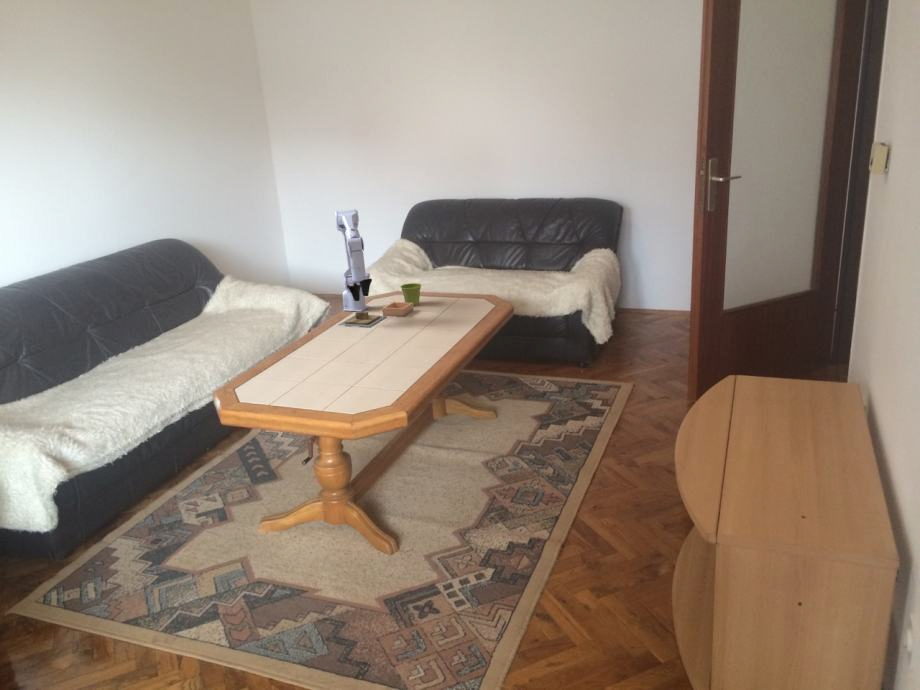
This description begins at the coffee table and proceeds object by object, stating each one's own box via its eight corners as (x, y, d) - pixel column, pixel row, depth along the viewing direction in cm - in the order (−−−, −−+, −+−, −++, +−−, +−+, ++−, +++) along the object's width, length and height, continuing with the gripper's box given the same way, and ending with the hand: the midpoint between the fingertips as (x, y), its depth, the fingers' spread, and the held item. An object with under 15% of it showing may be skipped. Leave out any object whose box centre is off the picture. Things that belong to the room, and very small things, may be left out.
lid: (344, 323, 315) (343, 315, 314) (357, 316, 325) (356, 308, 324) (367, 325, 311) (366, 316, 310) (380, 317, 321) (379, 309, 320)
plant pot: (427, 302, 340) (425, 284, 337) (415, 308, 333) (413, 289, 330) (410, 300, 345) (408, 282, 342) (398, 306, 337) (396, 287, 335)
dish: (383, 315, 324) (382, 308, 323) (393, 309, 333) (392, 301, 332) (403, 317, 320) (403, 309, 319) (413, 310, 329) (413, 302, 328)
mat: (338, 325, 315) (338, 324, 314) (356, 315, 328) (356, 314, 327) (369, 327, 309) (369, 326, 309) (386, 317, 322) (386, 316, 322)
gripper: (357, 271, 304) (361, 303, 308) (374, 263, 316) (378, 294, 321) (342, 270, 306) (346, 302, 311) (360, 262, 319) (363, 293, 323)
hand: (361, 298), depth 316 cm, fingers open, 7 cm apart
